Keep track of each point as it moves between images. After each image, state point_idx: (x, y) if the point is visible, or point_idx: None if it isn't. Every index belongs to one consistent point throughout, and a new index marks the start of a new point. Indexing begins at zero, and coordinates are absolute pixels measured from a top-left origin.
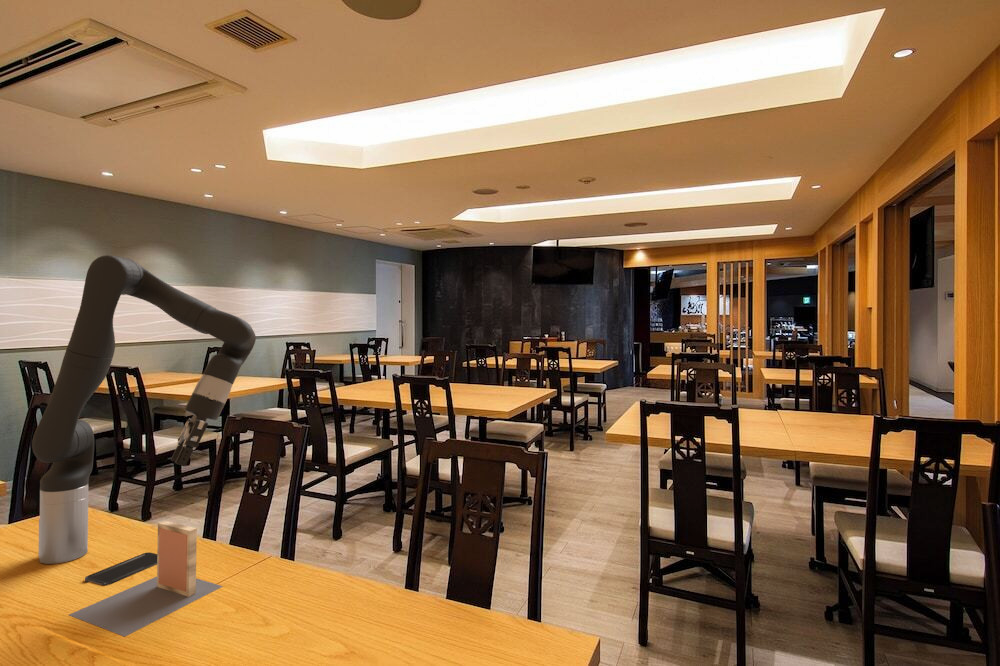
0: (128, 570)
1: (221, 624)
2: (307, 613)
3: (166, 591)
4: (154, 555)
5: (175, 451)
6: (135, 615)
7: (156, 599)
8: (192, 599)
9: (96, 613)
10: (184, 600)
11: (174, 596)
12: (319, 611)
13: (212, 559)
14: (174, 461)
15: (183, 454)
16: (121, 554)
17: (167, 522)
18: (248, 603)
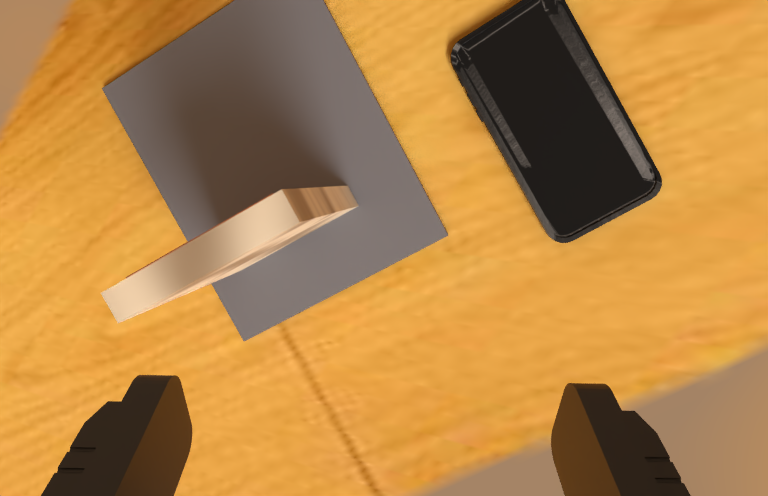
0: (528, 119)
1: (59, 290)
2: (11, 461)
3: None
4: (616, 207)
5: (609, 477)
6: (197, 118)
7: (261, 175)
8: None
9: (264, 26)
10: None
11: None
12: (7, 485)
13: (473, 363)
14: (563, 404)
15: (49, 493)
16: (733, 107)
17: (265, 228)
18: (126, 369)
